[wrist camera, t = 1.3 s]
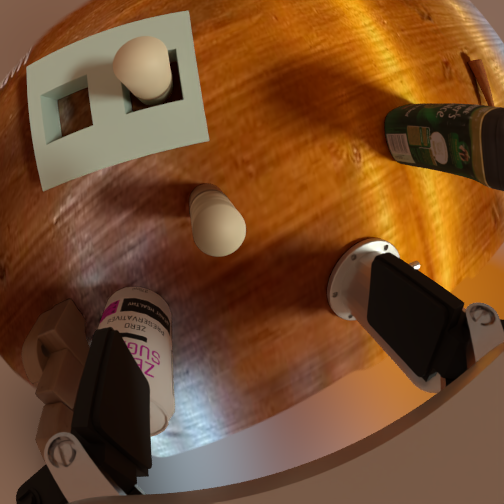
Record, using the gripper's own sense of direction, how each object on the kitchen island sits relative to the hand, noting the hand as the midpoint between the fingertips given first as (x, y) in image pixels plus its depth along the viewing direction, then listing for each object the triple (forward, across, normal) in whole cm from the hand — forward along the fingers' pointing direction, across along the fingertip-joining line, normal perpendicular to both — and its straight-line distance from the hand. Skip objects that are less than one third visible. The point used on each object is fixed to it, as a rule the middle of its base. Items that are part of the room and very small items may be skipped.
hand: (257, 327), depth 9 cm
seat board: (+20, +7, -12) cm, 25 cm away
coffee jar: (+20, -27, -5) cm, 34 cm away
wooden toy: (+20, +21, +15) cm, 33 cm away
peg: (+20, 0, 0) cm, 20 cm away
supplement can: (+20, +11, +11) cm, 26 cm away
